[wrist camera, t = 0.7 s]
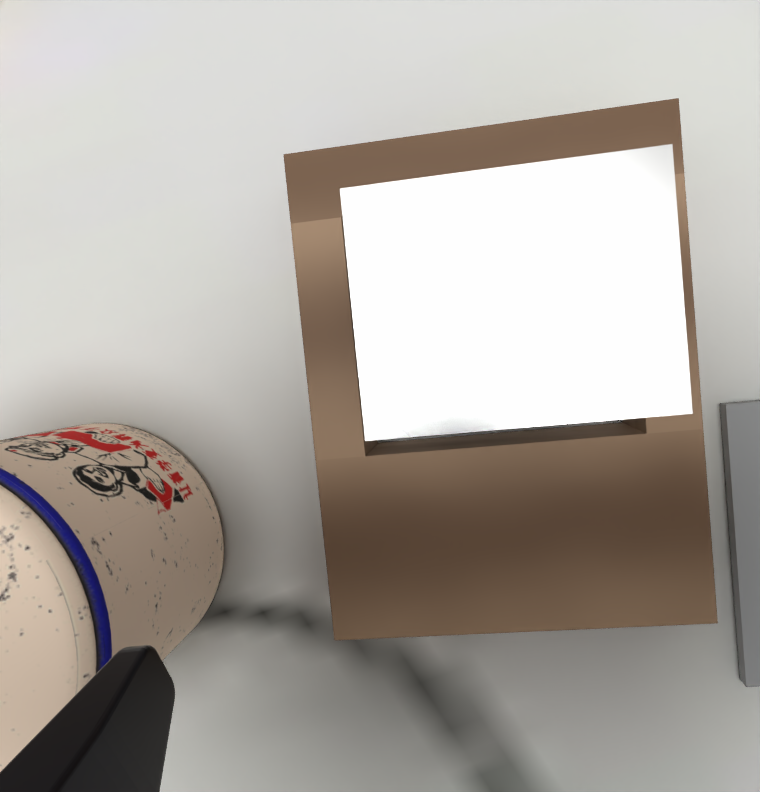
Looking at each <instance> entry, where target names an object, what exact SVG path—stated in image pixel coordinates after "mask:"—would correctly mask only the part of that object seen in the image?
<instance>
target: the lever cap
mask: <svg viewBox="0 0 760 792" xmlns="http://www.w3.org/2000/svg"><path fill="white" fill-rule="evenodd" d="M340 195H341V205H342V215H343V225H344V235H345V245H346V255H347V265H348V275H349V285H350V295H351V305H352V315H353V325H354V334H355V344H356V354H357V364H358V374H359V384H360V394H361V404H362V414H363V424H364V434H365V441H371V440H383V439H395V438H407V437H419V436H431V435H443V434H455V433H467V432H479V431H491V430H503V429H515V428H527V427H539V426H551V425H563V424H575V423H587V422H599V421H611V420H623V419H635V418H647V417H659V416H670V415H682V414H693V411H692V398H691V385H690V372H689V358H688V345H687V332H686V319H685V305H684V292H683V279H682V266H681V252H680V239H679V226H678V212H677V199H676V186H675V173H674V159H673V146H672V144H669V145H662V146H654V147H647V148H639V149H632V150H624V151H617V152H609V153H602V154H594V155H587V156H580V157H572V158H565V159H557V160H550V161H542V162H535V163H527V164H520V165H512V166H505V167H497V168H490V169H483V170H475V171H468V172H460V173H453V174H445V175H438V176H430V177H423V178H415V179H408V180H400V181H393V182H386V183H378V184H371V185H363V186H356V187H348V188H341V189H340Z"/></svg>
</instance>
